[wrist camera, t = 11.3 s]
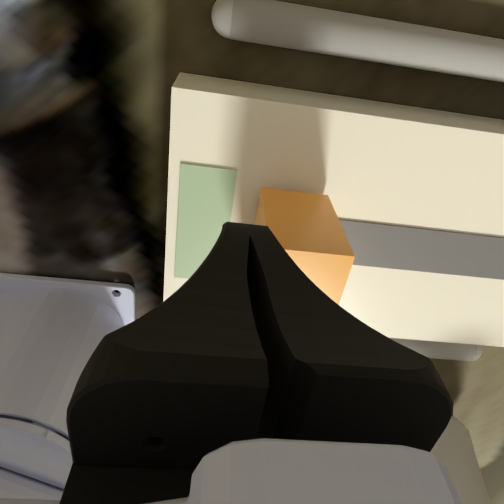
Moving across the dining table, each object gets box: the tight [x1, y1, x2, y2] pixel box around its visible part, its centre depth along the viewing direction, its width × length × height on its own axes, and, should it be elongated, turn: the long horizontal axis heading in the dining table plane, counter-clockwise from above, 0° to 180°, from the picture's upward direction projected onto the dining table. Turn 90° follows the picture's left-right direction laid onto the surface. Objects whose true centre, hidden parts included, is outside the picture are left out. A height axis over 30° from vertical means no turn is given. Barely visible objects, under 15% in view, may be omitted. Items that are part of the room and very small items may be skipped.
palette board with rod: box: [211, 0, 504, 361], centre depth 22 cm, size 20×19×2 cm
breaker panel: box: [163, 72, 504, 347], centre depth 21 cm, size 22×12×3 cm, turn 82°
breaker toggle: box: [254, 187, 355, 305], centre depth 17 cm, size 3×5×5 cm, turn 171°
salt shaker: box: [430, 415, 490, 504], centre depth 28 cm, size 6×6×13 cm
